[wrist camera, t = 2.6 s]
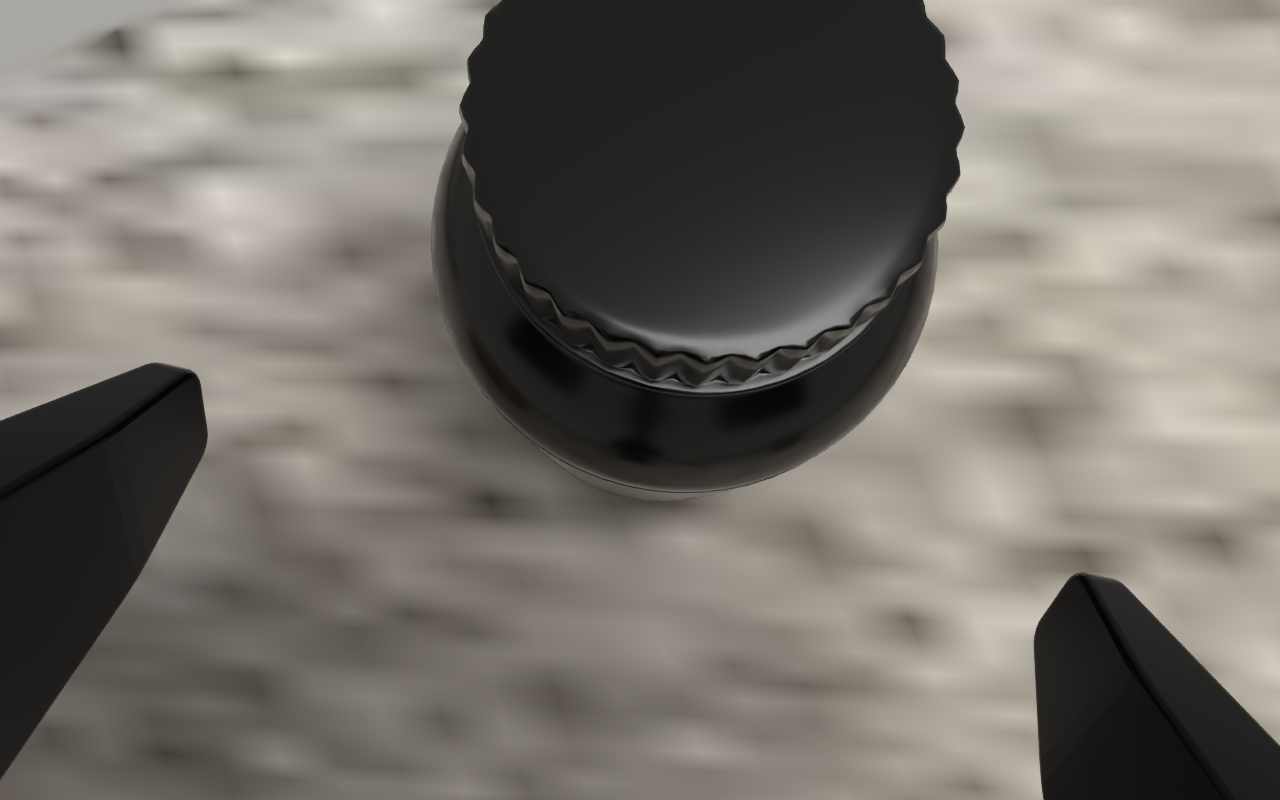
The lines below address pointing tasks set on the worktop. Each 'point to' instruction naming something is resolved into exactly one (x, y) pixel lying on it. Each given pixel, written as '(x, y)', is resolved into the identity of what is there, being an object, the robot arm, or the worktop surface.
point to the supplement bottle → (694, 228)
